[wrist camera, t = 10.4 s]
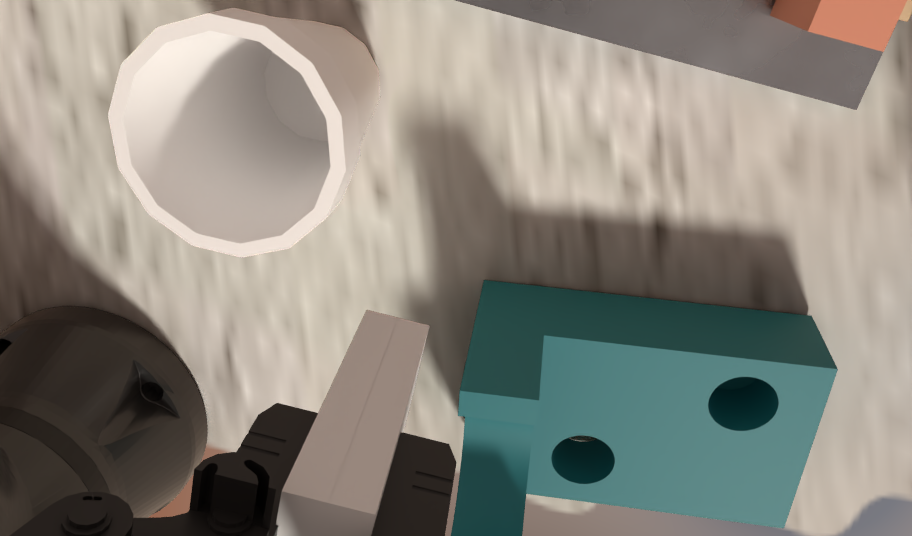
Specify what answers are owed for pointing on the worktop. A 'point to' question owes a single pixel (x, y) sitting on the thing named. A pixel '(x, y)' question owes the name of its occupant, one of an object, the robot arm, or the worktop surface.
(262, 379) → the worktop surface
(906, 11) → the beam gauge
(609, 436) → the teal l-shaped bracket
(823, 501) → the worktop surface
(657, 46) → the bolt plate
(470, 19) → the worktop surface
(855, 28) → the sliding jaw
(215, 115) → the foam cup
